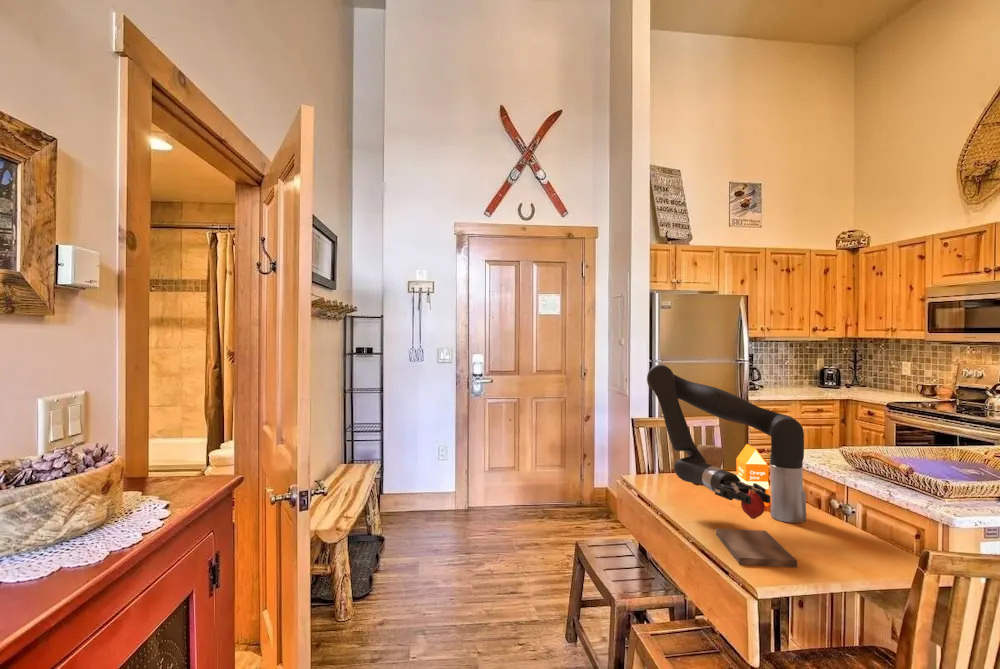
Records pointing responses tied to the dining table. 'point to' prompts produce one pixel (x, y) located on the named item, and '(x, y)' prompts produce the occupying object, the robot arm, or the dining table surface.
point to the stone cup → (712, 455)
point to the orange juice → (752, 468)
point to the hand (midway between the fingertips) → (759, 500)
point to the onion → (753, 505)
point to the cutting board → (755, 548)
